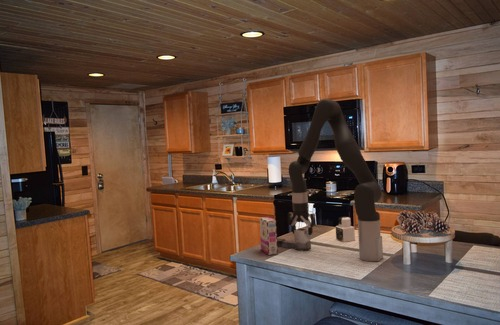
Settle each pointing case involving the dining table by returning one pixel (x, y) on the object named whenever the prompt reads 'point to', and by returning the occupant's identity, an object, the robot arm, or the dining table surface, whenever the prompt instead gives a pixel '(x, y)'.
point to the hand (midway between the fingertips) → (302, 234)
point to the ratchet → (293, 245)
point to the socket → (301, 235)
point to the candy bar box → (268, 235)
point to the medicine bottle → (345, 230)
